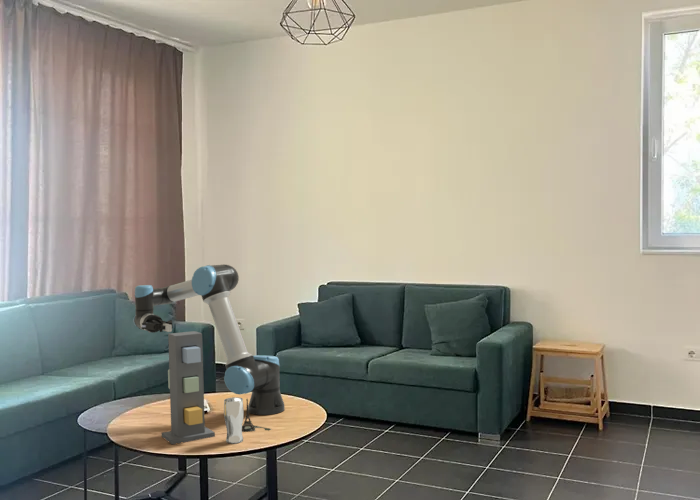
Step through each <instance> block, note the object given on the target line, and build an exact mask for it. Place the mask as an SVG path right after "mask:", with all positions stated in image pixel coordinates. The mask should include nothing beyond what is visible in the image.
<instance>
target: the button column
mask: <svg viewBox="0 0 700 500" xmlns="http://www.w3.org/2000/svg"><path fill="white" fill-rule="evenodd" d="M167 335H168V337H167V339H168V340H167V341H168V370H169V375H170V389H169V400H170V401H169V402H170V403H169V404H170V430H169V431H168V430H167V431H162V432H161V438H163V439H164V438H165V439H166V440H165V439H164V440H165V441H167V442H168V441H169V442H170V443H169V442H168V443H169V444H170V445H177V444H176V443H178V444H182V443H181V442H183V443H188V442H193V441H194V442H195V441H198V440H203V439H208V438H214V437H216V433H215V431H213V430H212V429H210V428H208V427H206V424H205V423H206V422H205V421H206V419H205V418H206V417H205V391H204V390H205V389H204V388H205V387H204V384H205V383H204V358H203V357H204V355H203V354H204V353H203V333H201V332H198V331H196V330H193V331H183V332H173V333H171V332H169V333H167ZM185 346H196V347H199V348H201V362H196V363H188V364H187V363H185V362H182V353H181V347H185ZM188 376H197V377H199V391H196V392H190V393H184V392H183V387H182V377H188ZM191 406H198V407H199V408H201V409H202V417H203V423H200V424H194V425H188V424H186V423H185V422H184V421H183V408H185V407H191Z"/></svg>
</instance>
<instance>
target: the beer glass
mask: <svg viewBox="0 0 700 500" xmlns="http://www.w3.org/2000/svg"><path fill="white" fill-rule="evenodd" d="M244 413H245V411H244V399H243V398H242V397H238V396H237V397H235V396H234V397H233V396H232V397H227V398H225V399H223V417H224V422H225V428H226V440H225V442H226V444H231V445H234V444H241V443H242V442H243V441H244V437H243V432H242V426H243V424H244V422H243V421H244V416H245V415H244Z"/></svg>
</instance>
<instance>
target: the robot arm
mask: <svg viewBox="0 0 700 500" xmlns="http://www.w3.org/2000/svg"><path fill="white" fill-rule="evenodd" d="M239 278H240V277H239V273H238V271H237V269H235V267H233V266H231V265H230V264H212V265H210V264H209V265H205V266H200V267H198V268H197V269H196V270H195V271H194V272H193V275H192V277H191V279H189V280H185V281H182V282H179V283H176V284H171V285H167V286H165V287H159V288H154V287H153V285H151V284H144V285H143V284H142V285H140V284H139V285H137V286H135V288H134V300H135V301H134V306H135V311H134V312H135V315H134V316H133V319H132V321H133V325H134V326H135V327H136V328H137V329H140V330H142V331H147V332H148V333H153V334H155V333H158V332H159V333H163V332H167V333H171V332H172V330H173V328H174V327H173V320H171V319H169V320H167V321H166V320H163V319H162V318H161V316H159V315H158V314H154V306H161V305H170V304H174V303H176V302H179V301H182V300H186V299H189V298H190V299H191V298H192V297H197V296H201V299H202V301H203V303H205V304H207V305H208V308H209V310H210V313H211V315H212V318H213V321H214V324H215V328H216V330H217V333H218V336H219V339H220V342H221V345H222V349H223V350H224V353H225V357H226V359H227V361H226V362H225V369H226V370H225V373H224V375H223V376H224V377H223V380H224V384H225V386H226V388H227V389H228V390H229V391H230V392H232V393H234V394H235V395H244V394H249V393H251V395H250V399H249V401H248V411H249V414H252V415H255V416H256V415H258V416H265V415H266V416H267V415H268V416H269V415H275V414H276V415H277V414H279V413H282V412H284V411H285V409H286V408H285V402H284V399H283V396H282V394H281V386H280V385H281V384H280V382H281V381H280V379H281V378H280V366H281V365H280V359H279V357H278V356H274V355H264V354H263V355H258V354H256V355H254V354H252V353H250V352H249V351H248V349H247V346H246V344H245V340H244V338H243V335H242V332H241V329H240V326H239V323H238V320H237V318H236V314H235V311H234V308H233V306H232V303H231V300H230V295H231V293H232V292H231V291H232V290H234V289H235V288H236V287H237V286H238V284H239V280H240V279H239Z"/></svg>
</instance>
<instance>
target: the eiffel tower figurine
mask: <svg viewBox="0 0 700 500" xmlns="http://www.w3.org/2000/svg"><path fill="white" fill-rule="evenodd" d="M248 405H249V399H248V398H246V409H245V410H246V411H245V412H246V413H245V420H243V421H244V422H243V424H242V433H249V432H250V433H253V432H256V429H264V431H268V432H269V431H271V430H272V428H267V427H264V426H258V425H253V422H252V420H251V418H250V417H251V416H250V413H249V411H248Z"/></svg>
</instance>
